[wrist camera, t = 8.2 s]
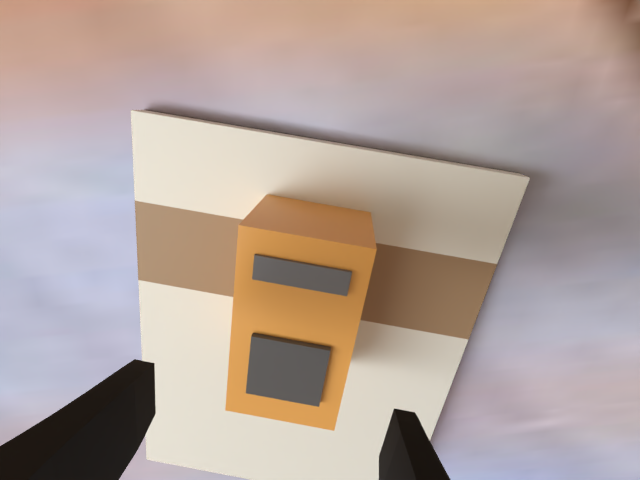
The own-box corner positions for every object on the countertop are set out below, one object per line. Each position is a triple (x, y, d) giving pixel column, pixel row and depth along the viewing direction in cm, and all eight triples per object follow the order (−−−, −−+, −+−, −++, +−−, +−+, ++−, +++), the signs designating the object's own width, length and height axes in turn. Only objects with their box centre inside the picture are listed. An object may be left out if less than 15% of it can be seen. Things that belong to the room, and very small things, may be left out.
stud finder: (370, 212, 17) (377, 252, 12) (337, 362, 20) (334, 435, 16) (266, 194, 17) (236, 227, 12) (251, 346, 20) (223, 414, 16)
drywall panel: (520, 173, 16) (530, 177, 15) (401, 493, 25) (403, 509, 24) (142, 109, 17) (130, 110, 16) (154, 446, 25) (146, 459, 24)
